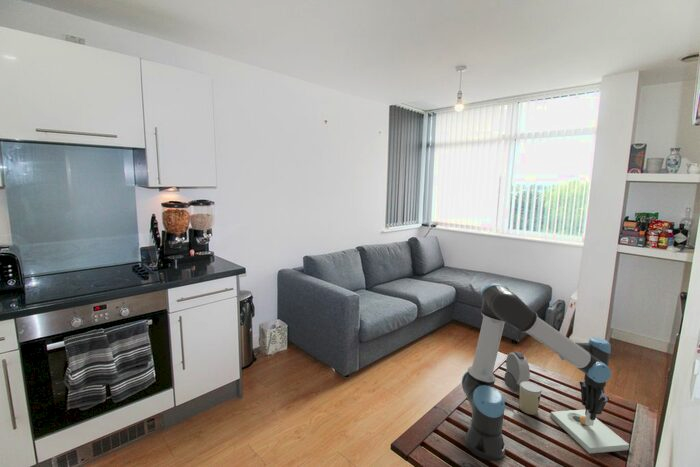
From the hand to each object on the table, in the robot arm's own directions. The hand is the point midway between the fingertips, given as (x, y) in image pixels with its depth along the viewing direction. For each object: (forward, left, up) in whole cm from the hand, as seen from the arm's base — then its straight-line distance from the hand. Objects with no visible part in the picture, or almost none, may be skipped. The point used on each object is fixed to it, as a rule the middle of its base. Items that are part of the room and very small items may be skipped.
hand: (589, 424), depth 146 cm
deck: (0, +1, -4) cm, 4 cm away
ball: (0, +2, 0) cm, 3 cm away
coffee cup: (-16, +18, -4) cm, 24 cm away
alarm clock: (-9, +38, -4) cm, 39 cm away
